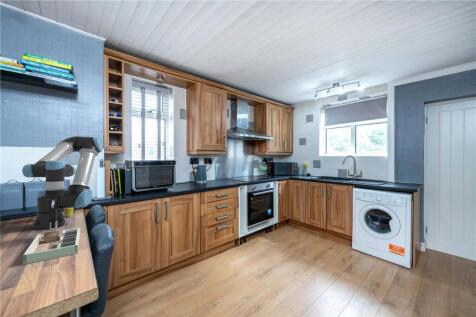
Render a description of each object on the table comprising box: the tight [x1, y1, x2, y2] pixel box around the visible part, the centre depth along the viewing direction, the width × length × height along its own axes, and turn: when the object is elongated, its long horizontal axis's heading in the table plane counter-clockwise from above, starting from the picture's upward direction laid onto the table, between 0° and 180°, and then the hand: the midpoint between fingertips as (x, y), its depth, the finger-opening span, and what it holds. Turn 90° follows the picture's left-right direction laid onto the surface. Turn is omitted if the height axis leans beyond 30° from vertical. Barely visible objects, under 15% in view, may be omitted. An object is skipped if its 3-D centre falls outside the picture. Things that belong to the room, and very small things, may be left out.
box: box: [22, 227, 81, 266], centre depth 93 cm, size 30×16×4 cm, turn 37°
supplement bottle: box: [63, 208, 75, 218], centre depth 145 cm, size 5×5×10 cm
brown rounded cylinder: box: [43, 230, 60, 244], centre depth 100 cm, size 6×6×4 cm
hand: (53, 233), depth 106 cm, fingers closed
